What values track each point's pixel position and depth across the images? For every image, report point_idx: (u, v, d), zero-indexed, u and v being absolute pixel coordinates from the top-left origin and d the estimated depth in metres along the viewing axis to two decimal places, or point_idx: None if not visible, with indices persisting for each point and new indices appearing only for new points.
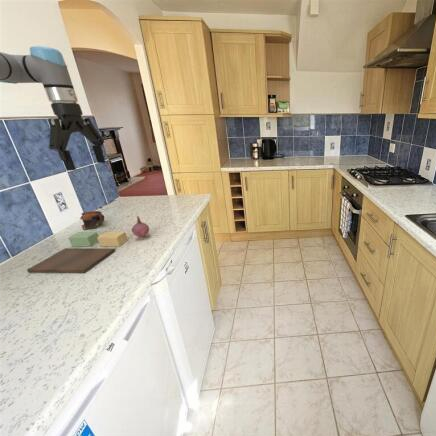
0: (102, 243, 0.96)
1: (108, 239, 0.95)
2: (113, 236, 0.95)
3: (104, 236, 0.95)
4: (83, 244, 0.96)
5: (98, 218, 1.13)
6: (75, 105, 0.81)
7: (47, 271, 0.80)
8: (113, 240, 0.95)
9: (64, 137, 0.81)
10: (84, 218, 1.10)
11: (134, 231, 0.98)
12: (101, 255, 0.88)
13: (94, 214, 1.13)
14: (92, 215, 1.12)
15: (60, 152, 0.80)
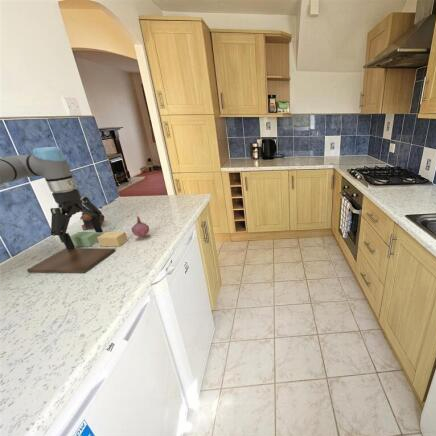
0: (102, 243, 0.96)
1: (108, 239, 0.95)
2: (113, 236, 0.95)
3: (104, 236, 0.95)
4: (83, 244, 0.96)
5: None
6: (74, 192, 0.90)
7: (47, 271, 0.80)
8: (113, 240, 0.95)
9: (64, 222, 0.89)
10: (84, 218, 1.10)
11: (134, 231, 0.98)
12: (101, 255, 0.88)
13: None
14: None
15: (61, 236, 0.88)
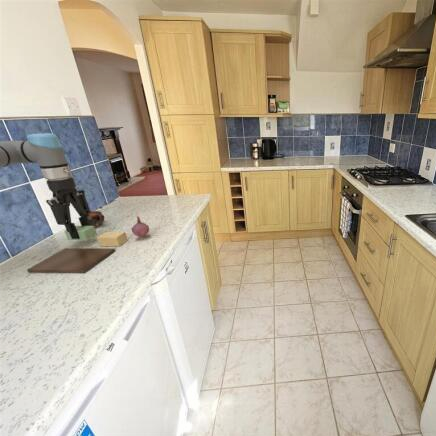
0: (102, 243, 0.96)
1: (108, 239, 0.95)
2: (113, 236, 0.95)
3: (104, 236, 0.95)
4: (79, 238, 0.95)
5: (98, 218, 1.13)
6: (69, 181, 0.88)
7: (47, 271, 0.80)
8: (113, 240, 0.95)
9: (65, 212, 0.90)
10: None
11: (134, 231, 0.98)
12: (101, 255, 0.88)
13: (94, 214, 1.13)
14: (92, 215, 1.12)
15: (66, 226, 0.91)
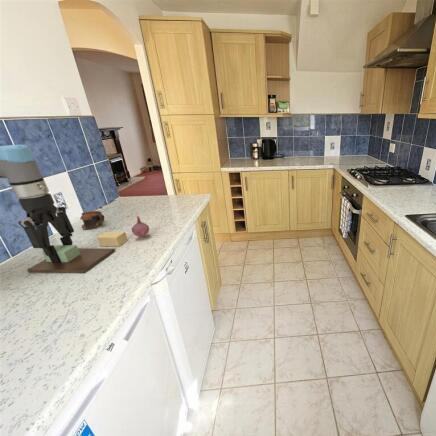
0: (102, 243, 0.96)
1: (108, 239, 0.95)
2: (113, 236, 0.95)
3: (104, 236, 0.95)
4: None
5: (98, 218, 1.13)
6: (45, 198, 0.77)
7: (47, 271, 0.80)
8: (113, 240, 0.95)
9: (43, 234, 0.79)
10: (84, 218, 1.10)
11: (134, 231, 0.98)
12: (101, 255, 0.88)
13: (94, 214, 1.13)
14: (92, 215, 1.12)
15: (44, 249, 0.80)
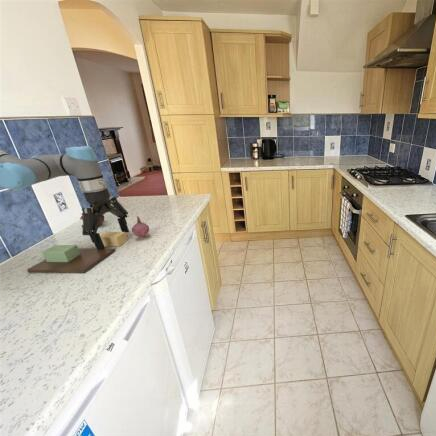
0: None
1: (108, 239, 0.95)
2: (113, 236, 0.95)
3: (104, 236, 0.95)
4: (59, 260, 0.84)
5: None
6: (104, 192, 0.89)
7: (47, 271, 0.80)
8: (113, 240, 0.95)
9: (95, 222, 0.88)
10: None
11: (134, 231, 0.98)
12: (101, 255, 0.88)
13: None
14: None
15: (92, 236, 0.88)
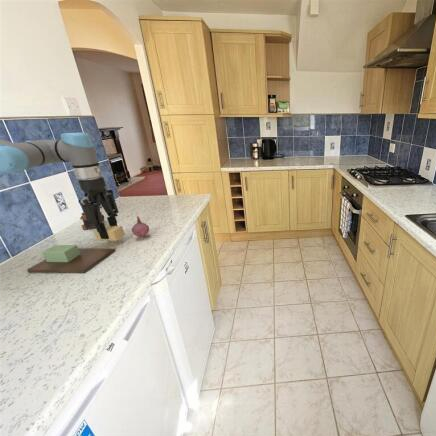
0: (99, 237, 0.95)
1: None
2: (110, 230, 0.94)
3: None
4: (59, 260, 0.84)
5: None
6: (100, 180, 0.87)
7: (47, 271, 0.80)
8: (110, 234, 0.94)
9: (96, 212, 0.89)
10: (84, 218, 1.10)
11: (134, 231, 0.98)
12: (101, 255, 0.88)
13: None
14: None
15: (97, 225, 0.90)
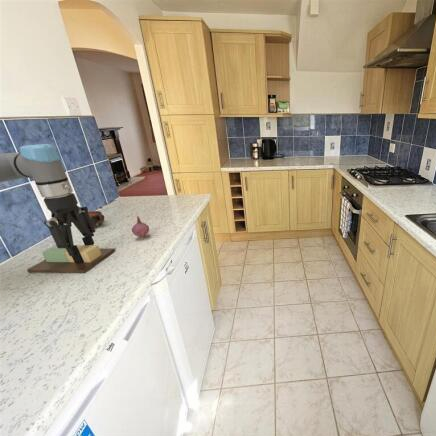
0: (71, 259, 0.83)
1: None
2: (83, 251, 0.83)
3: None
4: (59, 260, 0.84)
5: (98, 218, 1.13)
6: (69, 198, 0.77)
7: (47, 271, 0.80)
8: (83, 256, 0.83)
9: (67, 234, 0.78)
10: None
11: (134, 231, 0.98)
12: (101, 255, 0.88)
13: (94, 214, 1.13)
14: (92, 215, 1.12)
15: (68, 249, 0.79)
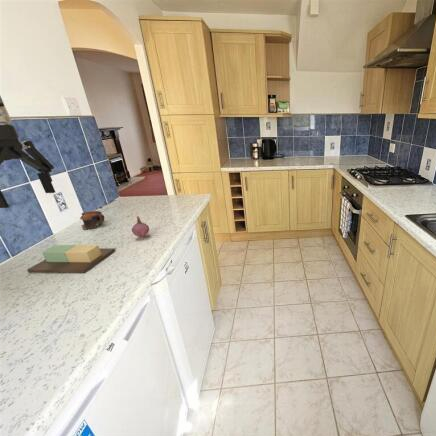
0: (71, 259, 0.83)
1: (77, 255, 0.83)
2: (83, 251, 0.83)
3: (73, 251, 0.83)
4: (59, 260, 0.84)
5: (98, 218, 1.13)
6: (6, 127, 0.65)
7: (47, 271, 0.80)
8: (83, 256, 0.83)
9: None
10: (84, 218, 1.10)
11: (134, 231, 0.98)
12: (101, 255, 0.88)
13: (94, 214, 1.13)
14: (92, 215, 1.12)
15: None
